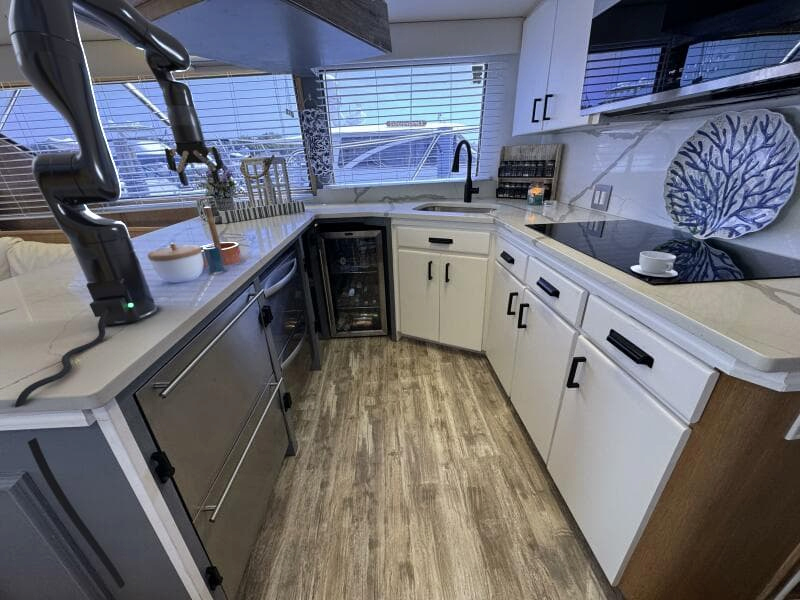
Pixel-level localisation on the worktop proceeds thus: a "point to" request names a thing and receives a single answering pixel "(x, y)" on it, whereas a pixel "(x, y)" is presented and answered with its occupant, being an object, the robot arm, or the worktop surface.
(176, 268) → the lidded bowl
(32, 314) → the worktop surface
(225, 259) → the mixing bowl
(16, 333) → the worktop surface
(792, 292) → the worktop surface
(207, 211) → the stirring stick
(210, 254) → the utensil pot
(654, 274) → the teacup
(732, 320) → the worktop surface
